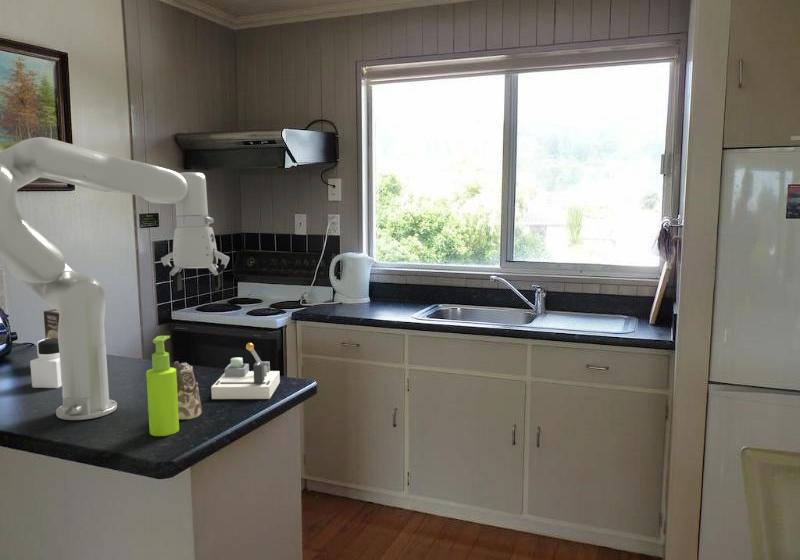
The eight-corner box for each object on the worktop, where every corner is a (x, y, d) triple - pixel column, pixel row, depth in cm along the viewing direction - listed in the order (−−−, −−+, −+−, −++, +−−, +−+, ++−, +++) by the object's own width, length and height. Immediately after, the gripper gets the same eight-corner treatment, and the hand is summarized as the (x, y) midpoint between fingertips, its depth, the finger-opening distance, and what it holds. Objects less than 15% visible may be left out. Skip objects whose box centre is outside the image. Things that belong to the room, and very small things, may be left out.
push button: (241, 369, 172) (241, 360, 171) (229, 369, 172) (229, 360, 171) (244, 366, 175) (243, 357, 174) (232, 366, 175) (232, 357, 174)
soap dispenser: (184, 424, 145) (179, 333, 142) (174, 436, 138) (169, 341, 135) (156, 424, 145) (151, 333, 142) (145, 436, 138) (140, 341, 135)
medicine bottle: (74, 380, 178) (70, 336, 177) (57, 388, 171) (54, 342, 170) (48, 380, 179) (45, 336, 177) (31, 387, 172) (27, 342, 170)
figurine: (179, 422, 146) (176, 368, 145) (162, 415, 151) (159, 363, 149) (207, 413, 152) (205, 362, 150) (190, 407, 156) (188, 357, 155)
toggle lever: (267, 371, 172) (249, 342, 171) (261, 375, 172) (243, 346, 171) (270, 368, 175) (252, 340, 174) (263, 372, 175) (245, 343, 174)
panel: (269, 398, 162) (268, 376, 162) (211, 399, 162) (210, 376, 162) (279, 382, 176) (279, 361, 175) (226, 382, 176) (225, 361, 175)
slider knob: (262, 382, 163) (261, 364, 163) (254, 382, 163) (253, 364, 163) (264, 379, 166) (264, 361, 166) (256, 379, 166) (255, 361, 166)
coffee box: (46, 365, 194) (41, 310, 192) (67, 360, 199) (63, 307, 197) (64, 370, 189) (60, 313, 187) (85, 364, 194) (81, 310, 192)
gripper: (231, 221, 170) (235, 287, 172) (165, 222, 171) (170, 288, 174) (221, 223, 162) (225, 292, 165) (152, 224, 164) (157, 293, 166)
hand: (197, 290), depth 169 cm, fingers open, 9 cm apart
